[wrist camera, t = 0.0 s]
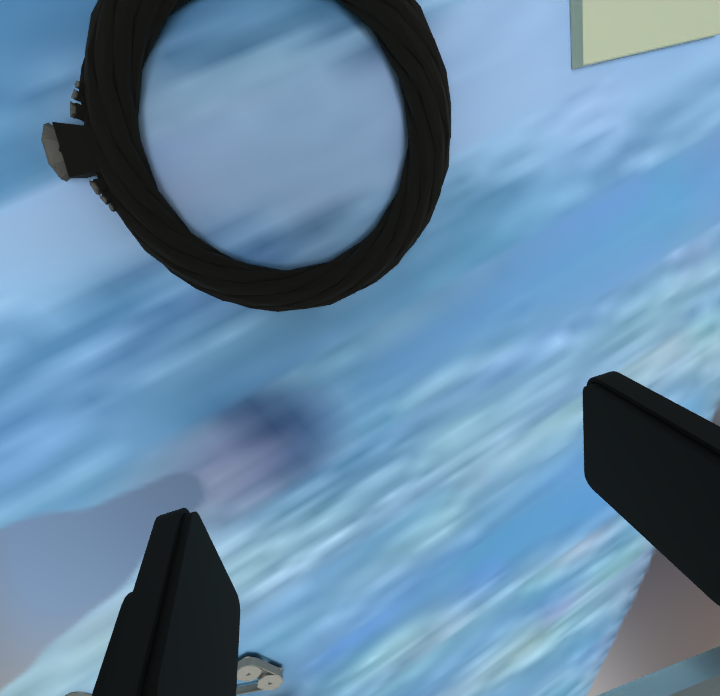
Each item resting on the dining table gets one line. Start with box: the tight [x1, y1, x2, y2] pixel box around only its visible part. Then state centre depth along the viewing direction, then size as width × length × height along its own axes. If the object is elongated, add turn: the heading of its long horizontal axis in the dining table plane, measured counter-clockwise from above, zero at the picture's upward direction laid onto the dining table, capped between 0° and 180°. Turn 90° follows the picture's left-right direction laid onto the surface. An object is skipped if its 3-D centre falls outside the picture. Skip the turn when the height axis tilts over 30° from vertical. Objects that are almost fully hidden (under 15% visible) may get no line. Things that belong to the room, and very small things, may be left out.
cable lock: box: [42, 0, 451, 312], centre depth 34 cm, size 28×4×30 cm
